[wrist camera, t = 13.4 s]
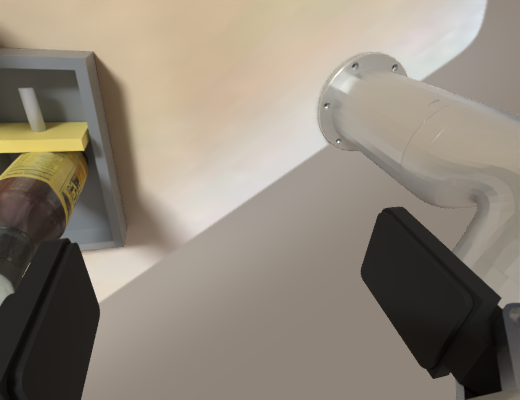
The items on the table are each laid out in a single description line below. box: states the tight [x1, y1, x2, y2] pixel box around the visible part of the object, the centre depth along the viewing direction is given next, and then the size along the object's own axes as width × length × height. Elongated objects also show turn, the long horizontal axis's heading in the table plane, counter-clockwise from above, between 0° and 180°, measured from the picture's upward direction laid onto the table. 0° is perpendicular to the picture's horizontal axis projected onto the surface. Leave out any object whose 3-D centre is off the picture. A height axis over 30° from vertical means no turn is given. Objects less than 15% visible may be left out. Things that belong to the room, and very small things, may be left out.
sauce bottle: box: [0, 151, 89, 306], centre depth 27 cm, size 7×6×20 cm
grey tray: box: [0, 48, 127, 251], centre depth 34 cm, size 11×22×4 cm, turn 176°
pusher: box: [0, 86, 90, 153], centre depth 30 cm, size 8×5×5 cm, turn 86°
